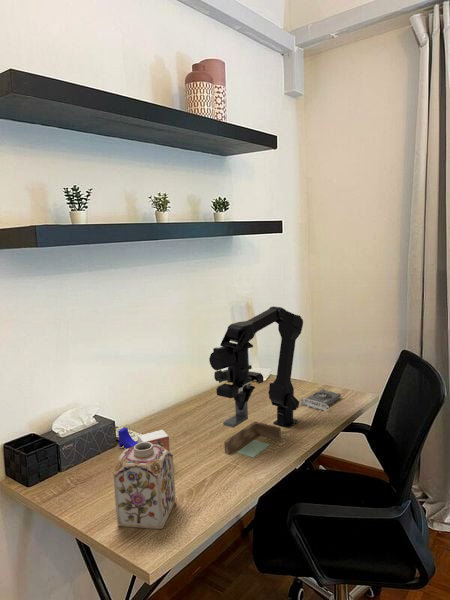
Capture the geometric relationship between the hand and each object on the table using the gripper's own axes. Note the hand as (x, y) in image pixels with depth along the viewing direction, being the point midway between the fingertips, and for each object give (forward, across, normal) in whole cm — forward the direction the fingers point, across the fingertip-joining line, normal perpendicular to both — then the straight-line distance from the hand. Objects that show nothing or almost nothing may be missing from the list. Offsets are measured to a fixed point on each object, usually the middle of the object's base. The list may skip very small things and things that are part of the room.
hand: (241, 409), depth 149 cm
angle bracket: (+3, +3, 0) cm, 5 cm away
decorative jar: (+11, +45, +3) cm, 47 cm away
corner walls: (+11, +1, +5) cm, 12 cm away
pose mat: (+11, +2, +6) cm, 13 cm away
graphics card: (+12, -46, +7) cm, 48 cm away
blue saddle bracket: (+11, +22, -26) cm, 36 cm away
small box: (+11, +29, -12) cm, 33 cm away
